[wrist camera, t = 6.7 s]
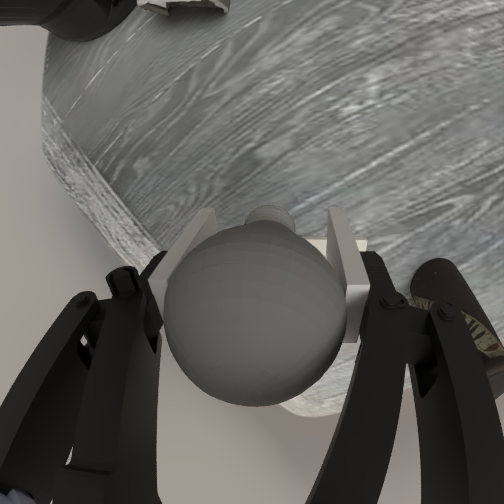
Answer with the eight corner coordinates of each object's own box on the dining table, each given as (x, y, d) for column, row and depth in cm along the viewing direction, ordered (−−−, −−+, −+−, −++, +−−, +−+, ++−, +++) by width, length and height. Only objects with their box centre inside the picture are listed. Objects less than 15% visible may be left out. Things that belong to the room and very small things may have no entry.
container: (442, 244, 31) (514, 360, 14) (467, 278, 33) (524, 383, 16) (397, 285, 35) (438, 412, 18) (426, 313, 37) (464, 424, 20)
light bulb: (204, 249, 17) (131, 397, 8) (235, 152, 13) (137, 266, 5) (298, 283, 17) (293, 445, 8) (345, 198, 14) (407, 357, 5)
